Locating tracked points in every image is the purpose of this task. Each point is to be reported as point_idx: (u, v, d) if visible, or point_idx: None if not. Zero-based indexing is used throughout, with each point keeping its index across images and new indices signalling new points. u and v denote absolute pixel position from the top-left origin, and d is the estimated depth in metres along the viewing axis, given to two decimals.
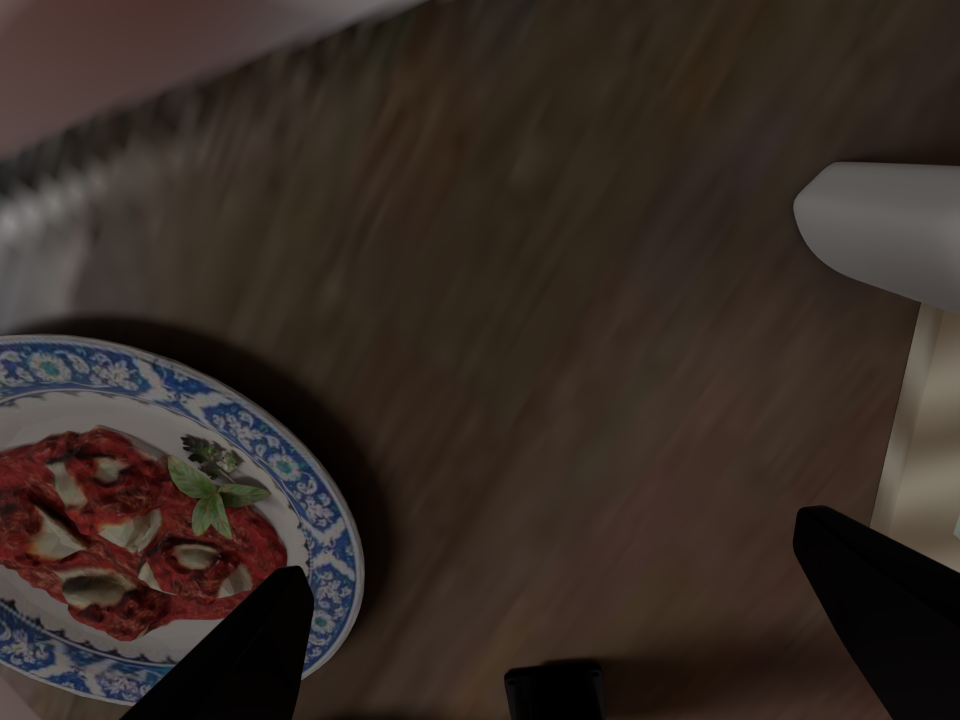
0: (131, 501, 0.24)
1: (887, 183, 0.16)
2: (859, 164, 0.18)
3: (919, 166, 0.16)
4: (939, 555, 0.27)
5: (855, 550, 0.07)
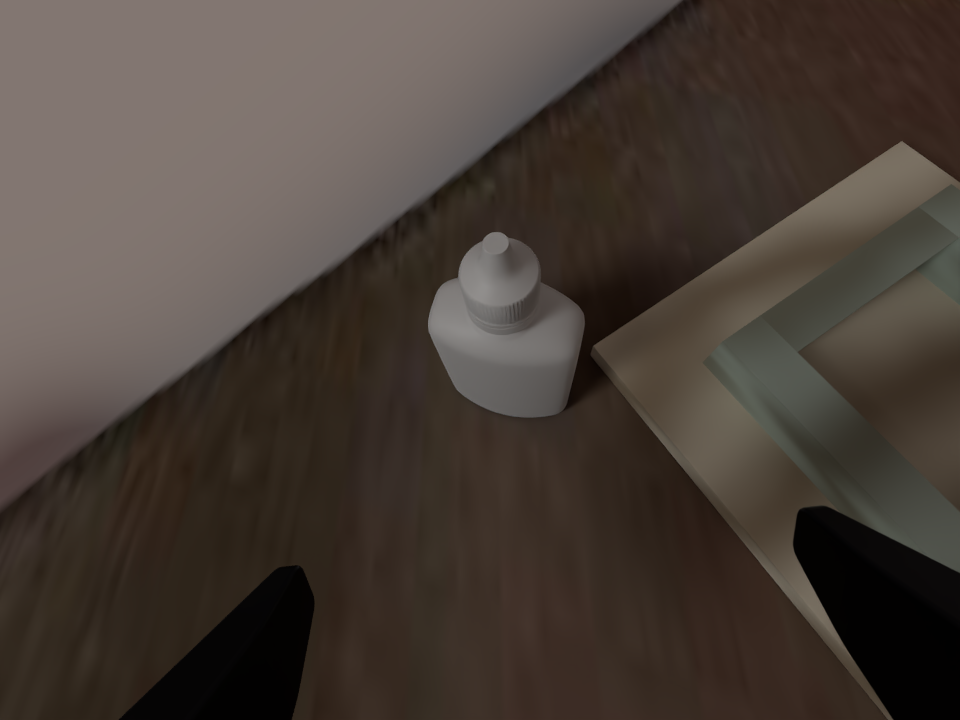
0: None
1: None
2: None
3: None
4: None
5: (855, 550, 0.07)
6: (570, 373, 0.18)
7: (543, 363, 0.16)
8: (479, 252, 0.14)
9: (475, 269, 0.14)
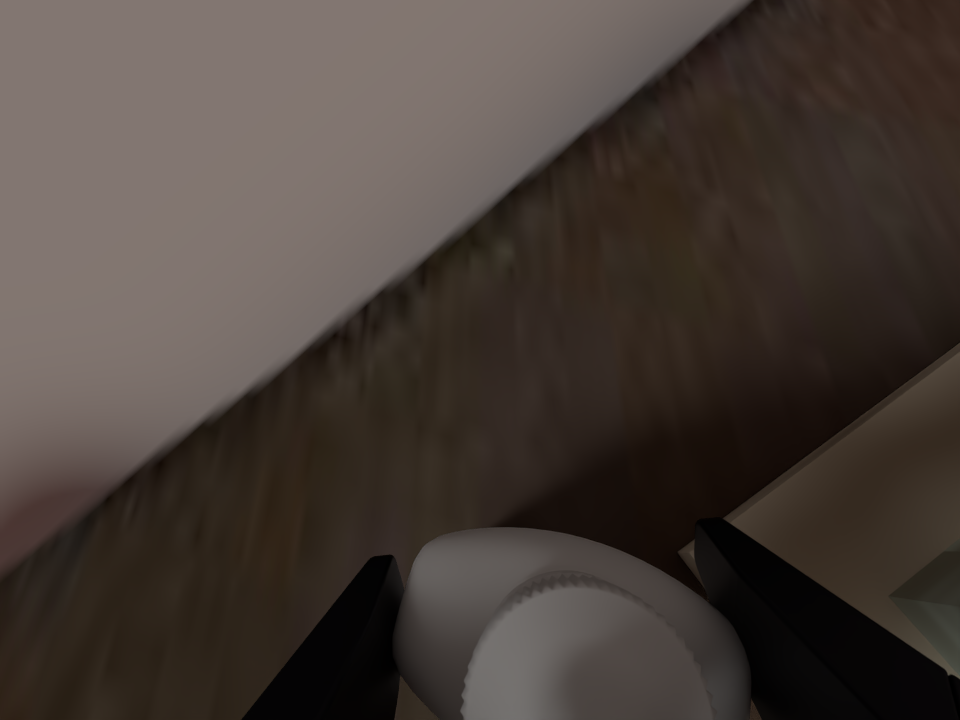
0: None
1: None
2: None
3: None
4: None
5: (734, 563, 0.07)
6: None
7: None
8: (526, 662, 0.05)
9: None
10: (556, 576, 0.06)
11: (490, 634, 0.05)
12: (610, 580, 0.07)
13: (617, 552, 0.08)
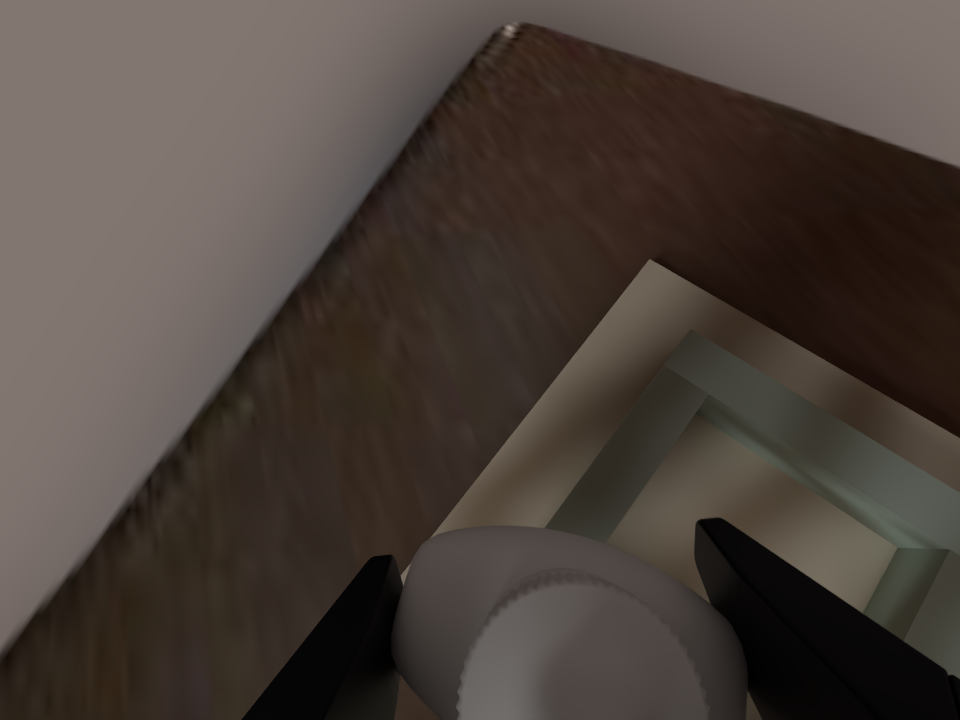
0: None
1: None
2: None
3: None
4: None
5: (734, 563, 0.07)
6: None
7: None
8: (521, 658, 0.05)
9: None
10: (552, 573, 0.06)
11: (485, 630, 0.05)
12: (607, 578, 0.07)
13: (614, 550, 0.08)
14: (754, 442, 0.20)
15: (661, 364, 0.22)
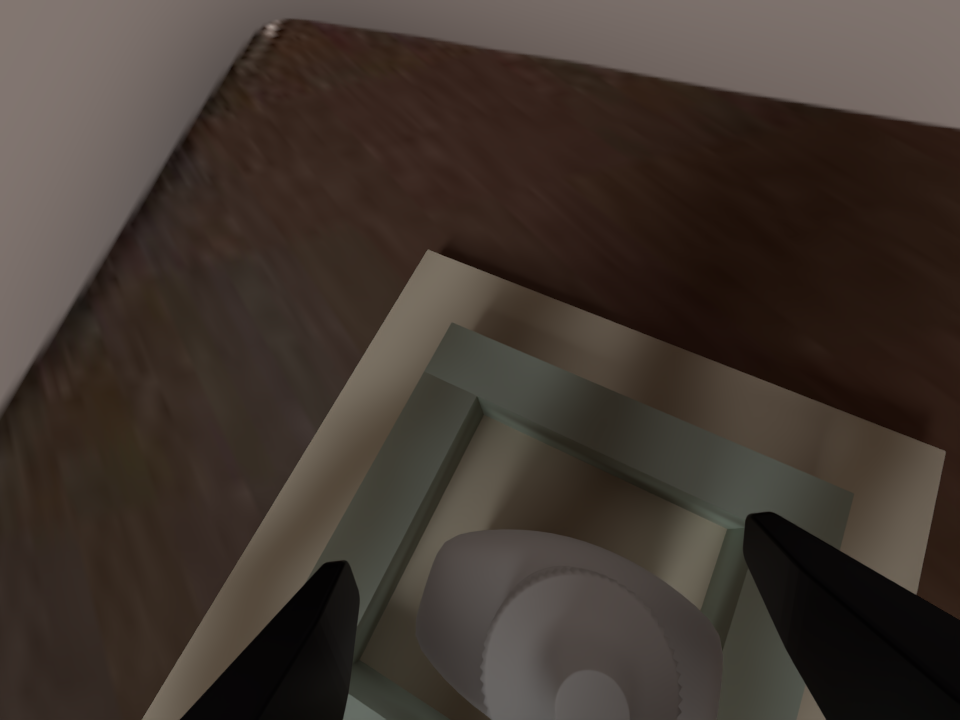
0: None
1: None
2: None
3: None
4: None
5: (794, 557, 0.07)
6: None
7: None
8: (533, 630, 0.06)
9: (523, 689, 0.06)
10: (558, 569, 0.07)
11: (505, 608, 0.06)
12: None
13: (611, 554, 0.09)
14: (549, 440, 0.17)
15: None
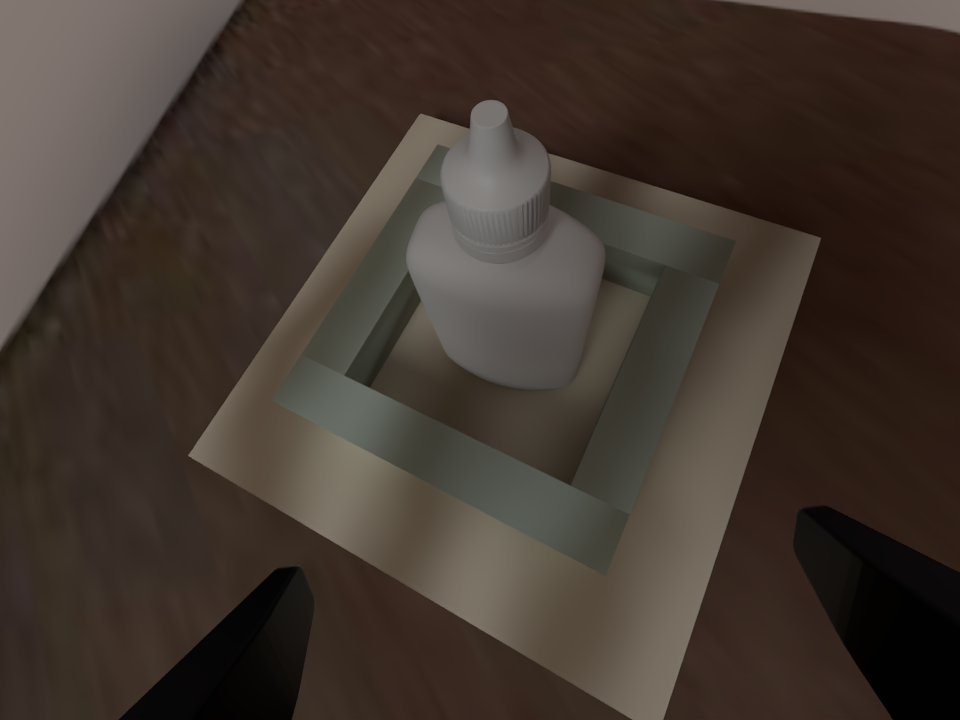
0: None
1: None
2: None
3: None
4: (634, 603, 0.17)
5: (855, 550, 0.07)
6: (584, 326, 0.14)
7: (550, 306, 0.13)
8: (469, 141, 0.10)
9: (461, 162, 0.10)
10: None
11: None
12: None
13: None
14: None
15: None
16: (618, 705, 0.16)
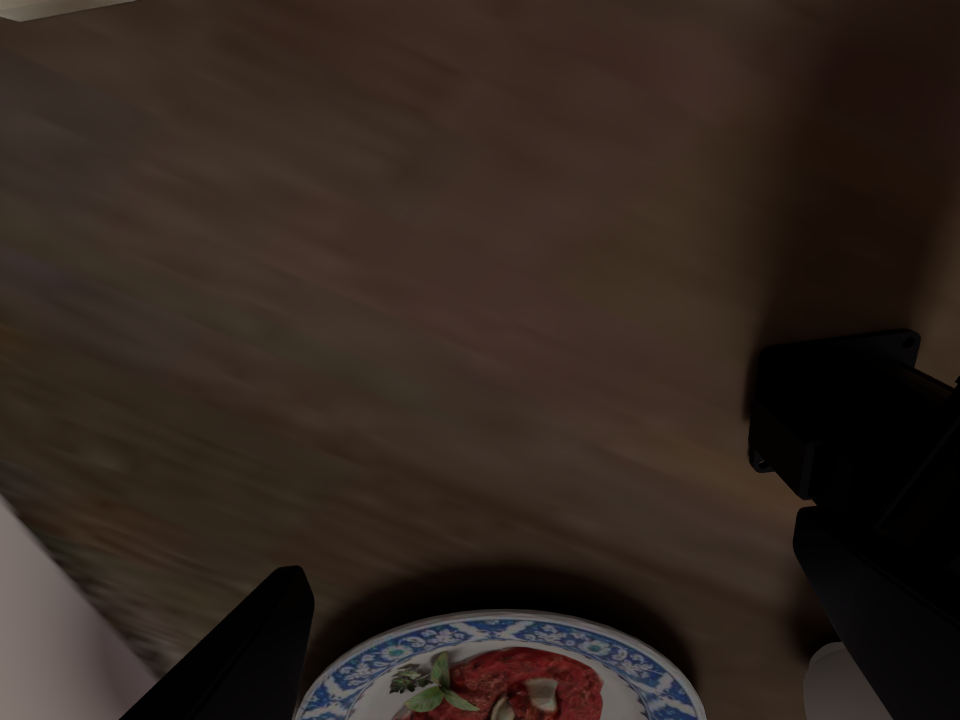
0: None
1: None
2: None
3: None
4: None
5: (855, 550, 0.07)
6: None
7: None
8: None
9: None
10: None
11: None
12: None
13: None
14: None
15: None
16: None
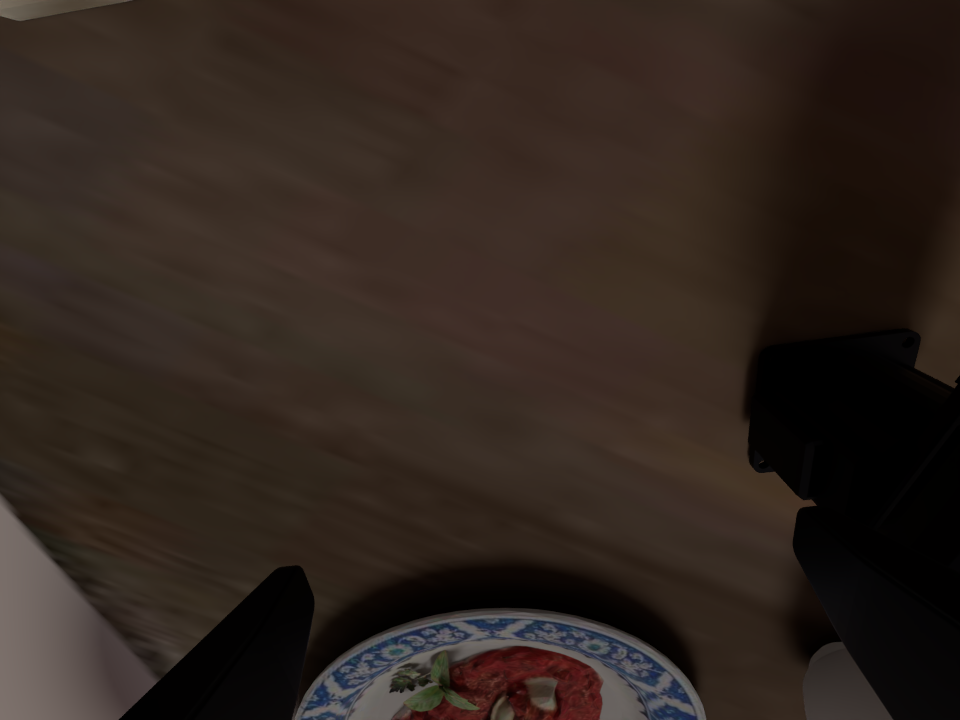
0: None
1: None
2: None
3: None
4: None
5: (855, 550, 0.07)
6: None
7: None
8: None
9: None
10: None
11: None
12: None
13: None
14: None
15: None
16: None
